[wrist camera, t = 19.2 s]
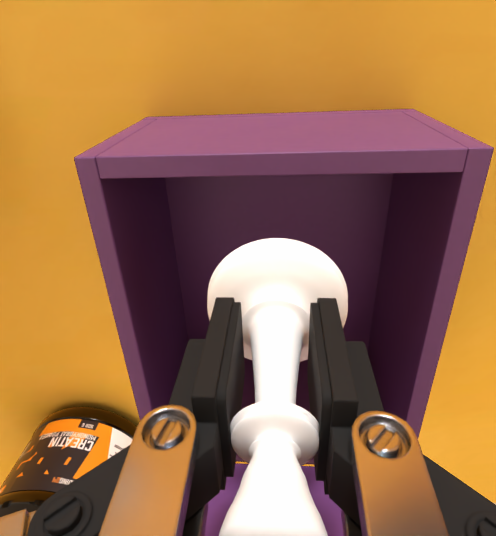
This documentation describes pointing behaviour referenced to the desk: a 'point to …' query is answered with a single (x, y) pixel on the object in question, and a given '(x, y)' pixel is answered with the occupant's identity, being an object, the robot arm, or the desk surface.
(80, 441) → the supplement container
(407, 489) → the robot arm
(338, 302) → the chess piece
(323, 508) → the lid
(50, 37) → the desk surface
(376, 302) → the box
